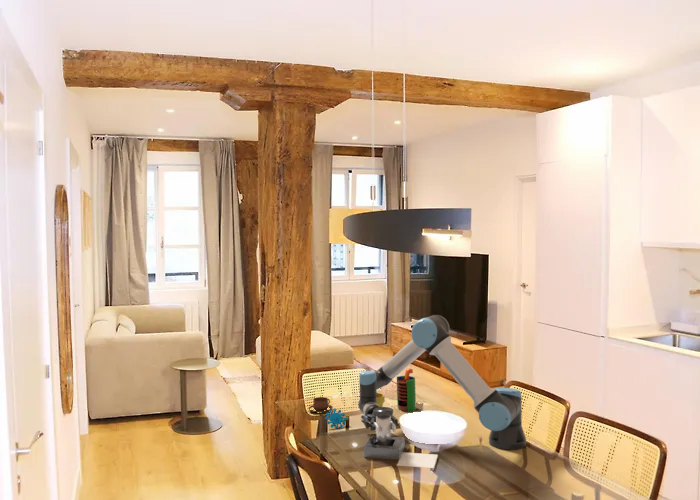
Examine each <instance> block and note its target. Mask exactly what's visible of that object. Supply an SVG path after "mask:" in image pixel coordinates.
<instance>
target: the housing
mask: <svg viewBox="0 0 700 500" xmlns="http://www.w3.org/2000/svg"><path fill="white" fill-rule="evenodd" d="M405 440H406V437H404V436H401V437H400V436H391V446H385V445H377V442H376V435H371V434H370V437H369V439H368V440H367V442H366V443H365V445H364V446H363V456H364V458H371V459H381V460H382V459H385V460H398V461H399V459H400V457H401V455H402V453H403V452H404V451H405V448H406V441H405Z"/></svg>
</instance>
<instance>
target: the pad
mask: <svg viewBox="0 0 700 500" xmlns="http://www.w3.org/2000/svg"><path fill="white" fill-rule="evenodd" d="M438 456H439V455H438V454H432V453H430V454H429V453H422V452H421V453H418V452H404V451H403V453H402V455H401V457H400V459H399V460H398V462H397V463H396V466H399V467H412V468H413V467H414V468H422V469H423V468H425V469H430V471H433V472H434V471H435V468H436V464H437V460H438Z"/></svg>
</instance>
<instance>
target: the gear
mask: <svg viewBox="0 0 700 500" xmlns="http://www.w3.org/2000/svg"><path fill="white" fill-rule="evenodd" d="M325 415H326V416H325V419H324V420H326V421H327V422H326V424H327V425H330V428H332V429H333V428H335V429H339V428H340V429H341V428H343V427H344V426H345V425H346V422H347V420H349V416H346V414H345V412H343V413H342V410H341V409H338V411H337V408H333V409H332V410H329V412H325ZM339 425H340V426H339ZM334 426H335V427H334Z"/></svg>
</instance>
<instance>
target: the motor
mask: <svg viewBox="0 0 700 500" xmlns="http://www.w3.org/2000/svg"><path fill="white" fill-rule="evenodd" d="M405 369H406V368H405ZM413 370H414V369H413V368H407V369H406V370H405V373H404V375H400V376H399V375H397V376H396V399H397V402H396V403H397V409H399V410H398V411H400V410H401V412H408V413H410V412H414V411H416V410H417V404H416V403H417V401H416V400H417V399H416V378H415V376H411V375H410V374H413V373H414V371H413Z"/></svg>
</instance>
